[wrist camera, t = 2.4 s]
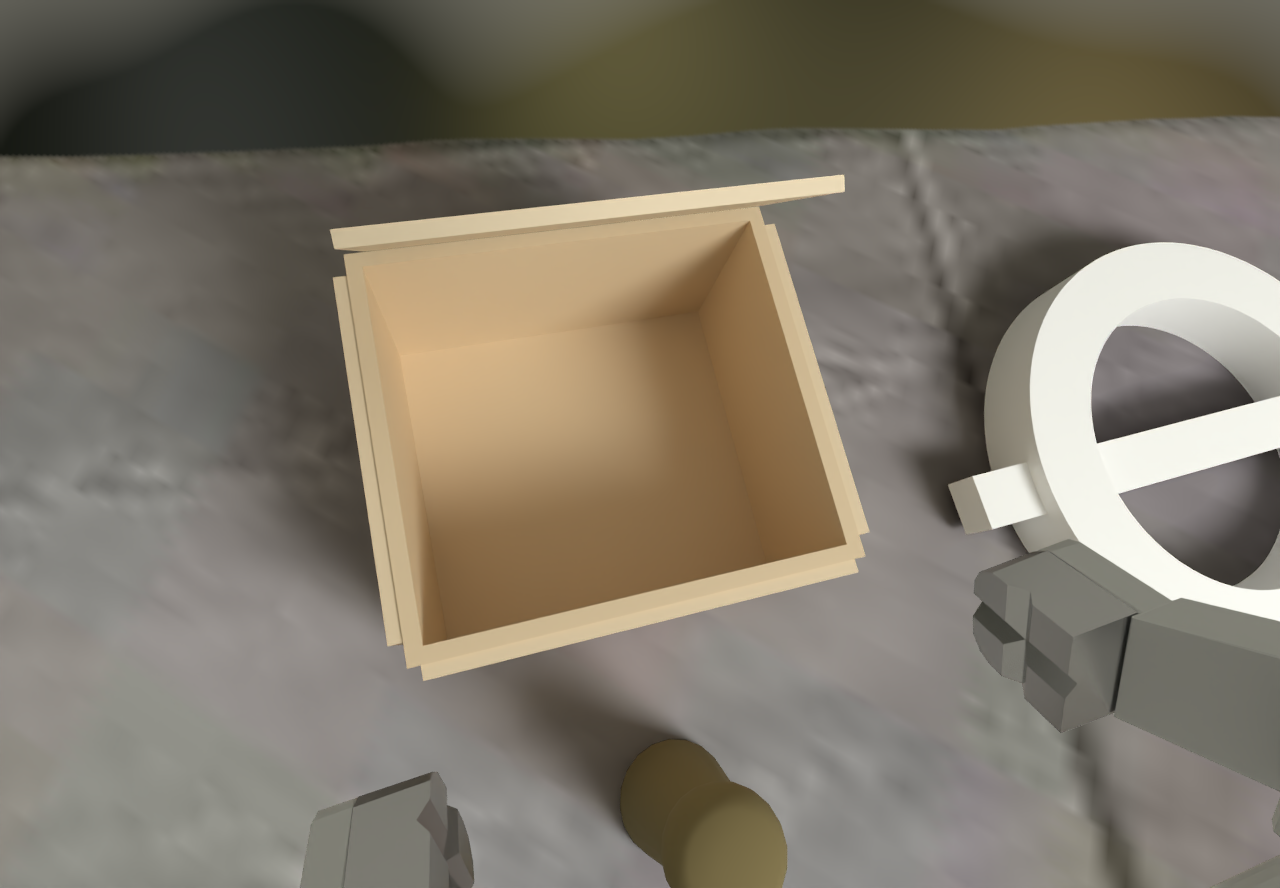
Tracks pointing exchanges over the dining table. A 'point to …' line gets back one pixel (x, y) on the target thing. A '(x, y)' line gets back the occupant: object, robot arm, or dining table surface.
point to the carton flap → (578, 214)
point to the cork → (700, 821)
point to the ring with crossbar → (1095, 473)
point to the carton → (588, 433)
